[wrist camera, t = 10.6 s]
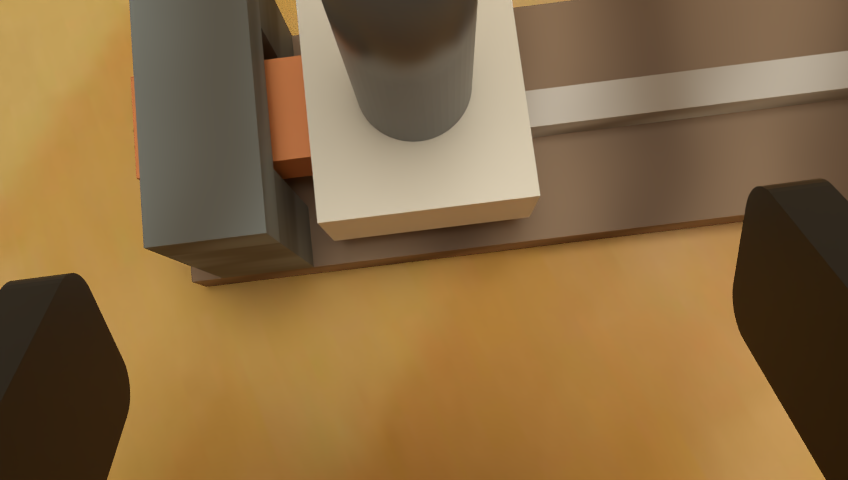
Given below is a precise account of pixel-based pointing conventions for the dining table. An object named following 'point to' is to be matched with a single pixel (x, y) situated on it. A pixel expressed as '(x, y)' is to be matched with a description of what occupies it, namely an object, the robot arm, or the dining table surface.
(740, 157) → the rail board
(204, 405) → the dining table surface
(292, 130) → the reset pin
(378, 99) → the carriage
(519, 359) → the dining table surface
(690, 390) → the dining table surface
